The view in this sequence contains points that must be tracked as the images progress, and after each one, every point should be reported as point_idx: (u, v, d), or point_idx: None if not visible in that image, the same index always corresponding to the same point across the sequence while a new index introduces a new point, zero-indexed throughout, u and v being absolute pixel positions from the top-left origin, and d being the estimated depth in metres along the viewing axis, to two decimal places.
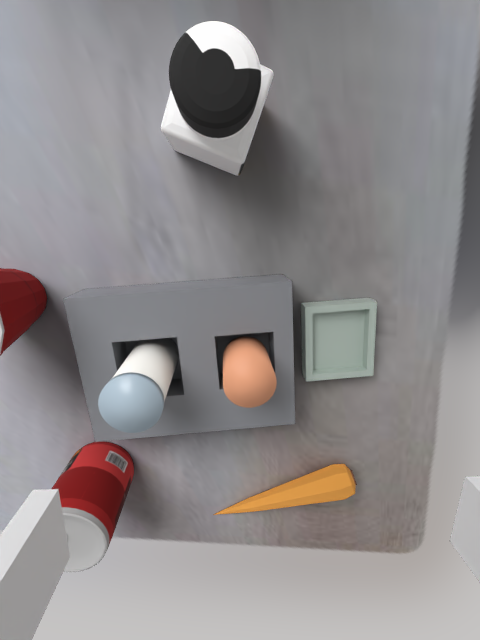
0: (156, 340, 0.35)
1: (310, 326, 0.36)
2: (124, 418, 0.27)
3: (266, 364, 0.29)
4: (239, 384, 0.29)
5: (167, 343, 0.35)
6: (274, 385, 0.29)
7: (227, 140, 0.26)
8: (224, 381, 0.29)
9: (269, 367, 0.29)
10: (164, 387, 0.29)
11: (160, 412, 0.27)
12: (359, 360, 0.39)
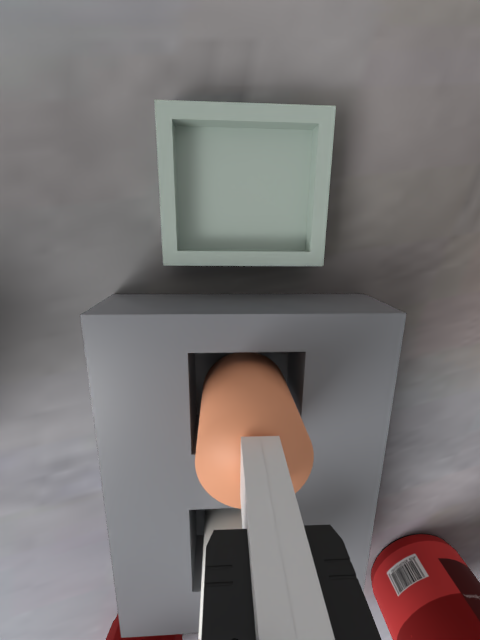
0: (205, 516, 0.21)
1: (204, 255, 0.18)
2: None
3: (211, 428, 0.13)
4: None
5: None
6: (265, 413, 0.13)
7: None
8: None
9: (219, 422, 0.13)
10: None
11: None
12: (298, 137, 0.18)
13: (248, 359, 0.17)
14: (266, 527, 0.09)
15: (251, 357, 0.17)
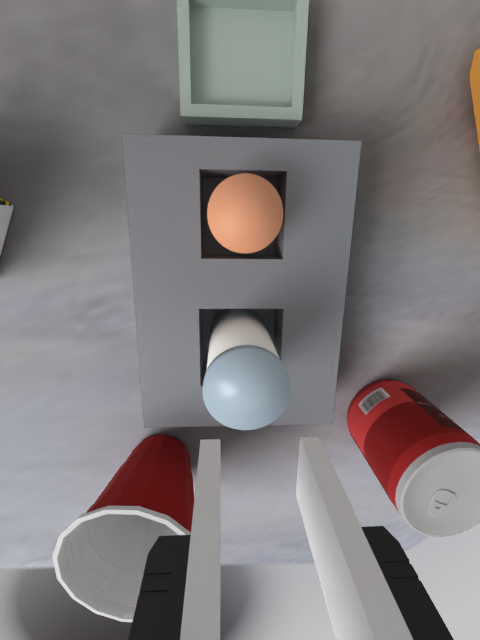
0: (211, 333, 0.27)
1: (211, 108, 0.24)
2: (266, 401, 0.19)
3: (218, 187, 0.20)
4: (245, 229, 0.21)
5: (218, 319, 0.28)
6: (252, 177, 0.20)
7: None
8: (238, 250, 0.21)
9: (222, 183, 0.20)
10: (240, 340, 0.20)
11: (263, 354, 0.18)
12: (283, 18, 0.23)
13: None
14: (208, 533, 0.09)
15: None
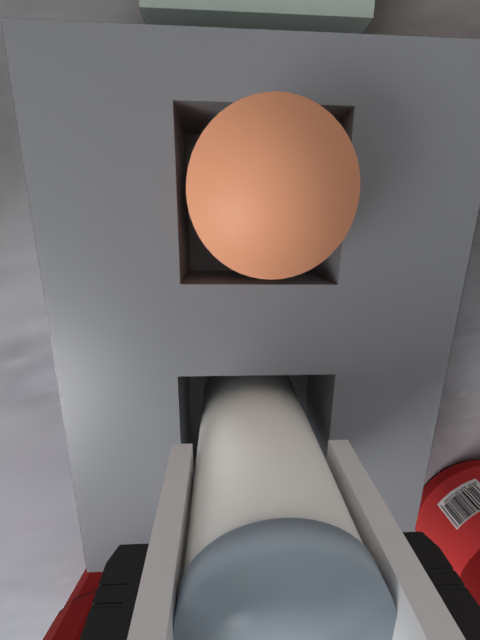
0: (202, 407, 0.16)
1: None
2: None
3: (210, 126, 0.08)
4: (273, 226, 0.09)
5: (215, 382, 0.16)
6: (291, 101, 0.08)
7: None
8: (256, 273, 0.10)
9: (222, 116, 0.08)
10: (263, 482, 0.09)
11: (332, 558, 0.07)
12: None
13: None
14: (167, 543, 0.08)
15: None
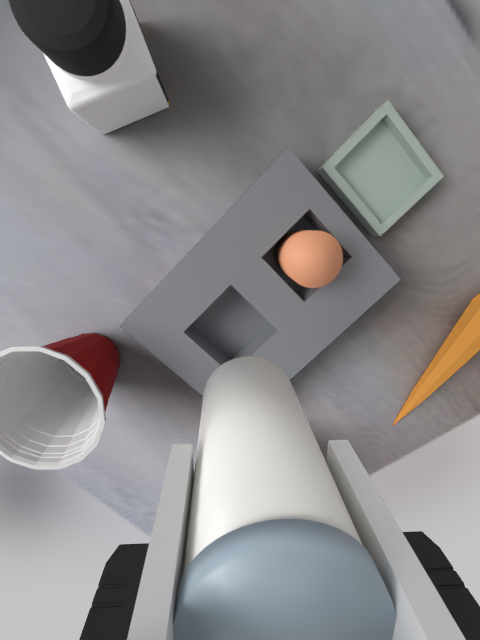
0: (202, 408, 0.16)
1: (342, 181, 0.31)
2: None
3: (315, 231, 0.27)
4: (307, 267, 0.28)
5: (215, 382, 0.16)
6: (337, 244, 0.27)
7: (126, 63, 0.23)
8: (292, 275, 0.28)
9: (320, 231, 0.27)
10: (263, 482, 0.09)
11: (331, 559, 0.07)
12: (417, 175, 0.33)
13: None
14: (167, 543, 0.08)
15: None
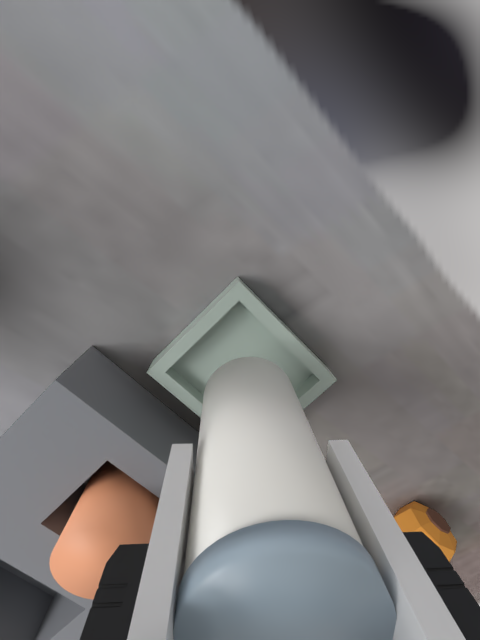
0: (202, 408, 0.16)
1: (180, 389, 0.20)
2: None
3: (91, 529, 0.16)
4: (87, 576, 0.17)
5: (215, 383, 0.16)
6: None
7: None
8: (63, 585, 0.17)
9: (99, 530, 0.16)
10: (264, 484, 0.09)
11: (332, 561, 0.07)
12: (303, 369, 0.22)
13: None
14: (167, 543, 0.08)
15: None
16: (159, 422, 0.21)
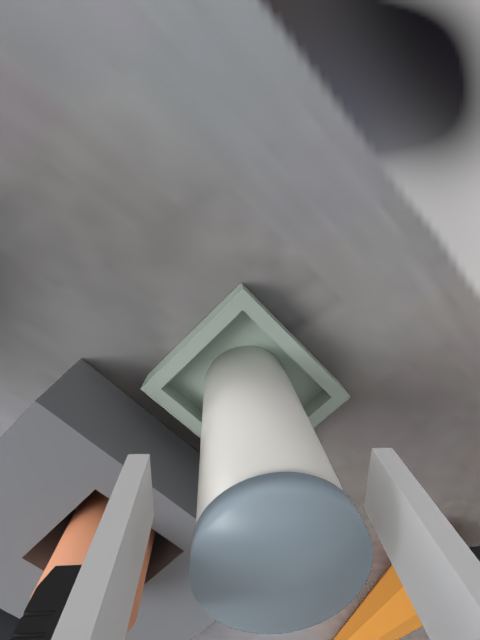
0: (204, 392, 0.17)
1: (177, 407, 0.19)
2: (320, 584, 0.09)
3: None
4: None
5: (216, 369, 0.17)
6: None
7: None
8: None
9: None
10: (263, 447, 0.10)
11: (320, 501, 0.09)
12: (312, 384, 0.20)
13: None
14: (101, 566, 0.08)
15: None
16: (154, 443, 0.19)
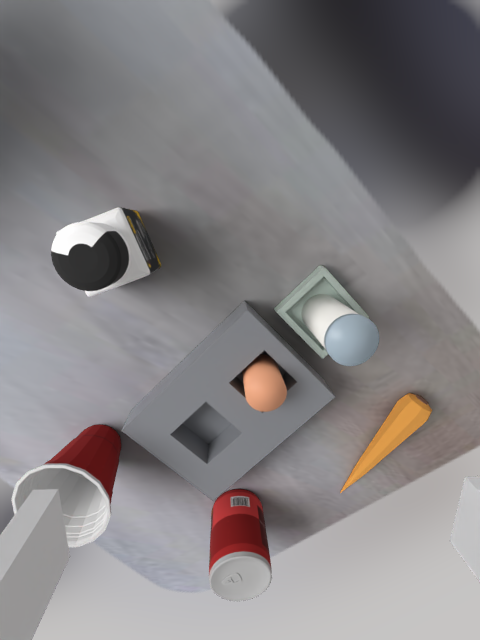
0: (306, 311, 0.40)
1: (291, 321, 0.41)
2: (363, 347, 0.32)
3: (265, 374, 0.37)
4: (260, 398, 0.38)
5: (311, 302, 0.40)
6: (282, 382, 0.37)
7: (128, 270, 0.33)
8: (249, 403, 0.38)
9: (269, 374, 0.37)
10: (344, 311, 0.33)
11: (364, 318, 0.31)
12: None
13: (275, 362, 0.42)
14: None
15: (275, 363, 0.42)
16: (280, 338, 0.42)
